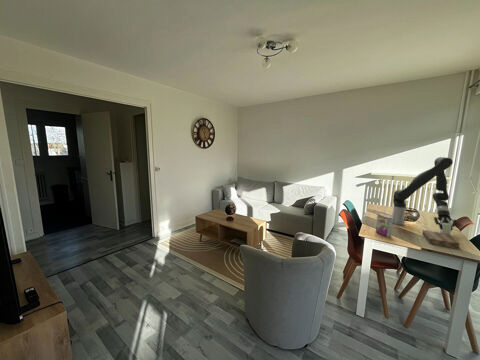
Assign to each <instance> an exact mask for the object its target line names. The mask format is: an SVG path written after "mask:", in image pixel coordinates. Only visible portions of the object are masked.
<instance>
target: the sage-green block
mask: <svg viewBox="0 0 480 360" xmlns="http://www.w3.org/2000/svg"><path fill="white" fill-rule="evenodd" d="M451 224H452V223H451ZM451 224H449V223H442V227H443V229H442V230H441V229H440V228H439V232H440V233H446V234H450V235H451V232H452V231H451V226H452V225H451Z"/></svg>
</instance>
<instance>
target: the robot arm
mask: <svg viewBox="0 0 480 360" xmlns="http://www.w3.org/2000/svg"><path fill="white" fill-rule="evenodd" d="M433 163H434V166H433V167H431V168H430V169H427V170H425V171H423V172H421V173H419V174H417V176H415V177H414V178H413V179H412V180H411V182H410V183H409V184H408V186H406V187H405V188H404V189H396V190H395V191H394V193H393V209H392V212H391V213H392V214H391V217H392V218H393V225H395V226H396V225H397V226H403V225H404V224H405V217H406V216H405V215H406V208H407V205H406V200H407V199H408V198H410V197H411V196H412V195H413V194H414V193H415V192H416V191H418V190H419V189H421V188H422V187H423V186H425V185H426V184H427V183H429V182H430V181H432V179H434V178H435V179H436V180H435V190H437V191H438V192H433V194H432V199H433V200H434V202H435V204H436V213H437V217H436V216H434V217H433V221H434V223H435V224H436V225H438V227H439V230H440V229H441V230H442V229H443V227H442V223H449V224H451V225H452V226H451V232H452V231H453V229H454V228H453V227H455V226H456V223H457V220H456V219H452V218H451V213H450V209H449V205H448V202H447V201H448V200H449V199H450V196H449V193H448V189H447V188H448V187H447V186H448V181H447V177H446V174H445V170H447V169H448V168H450V167H451V166H452V165H453V160H452V158H450V157H444V156H440V157H436V159H434V162H433ZM439 191H440V192H439Z"/></svg>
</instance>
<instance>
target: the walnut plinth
mask: <svg viewBox="0 0 480 360" xmlns="http://www.w3.org/2000/svg"><path fill="white" fill-rule="evenodd" d="M422 236H423V237H424V239H425V240H426V241H427V242H428V243H429V244H430V245H434V246H435V245H436V246H441V247H446V246H447V248H452V247H453V249H457V248H458V249H460V242H459V241H457V239H455V238H454V237H453V236H452V235H451V233H450V234H446V233H440V231H432V230H427V229H426V230H424V229H422Z"/></svg>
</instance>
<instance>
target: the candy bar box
mask: <svg viewBox="0 0 480 360" xmlns="http://www.w3.org/2000/svg"><path fill="white" fill-rule="evenodd" d="M393 225H394V224H393V218H392V216H389V215H386V214H384V213H378V214H377V216H376V226H375V233H377V234H379V235H381V236H383V237H386V238H391V237H392V234H393V232H392V231H393Z"/></svg>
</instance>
